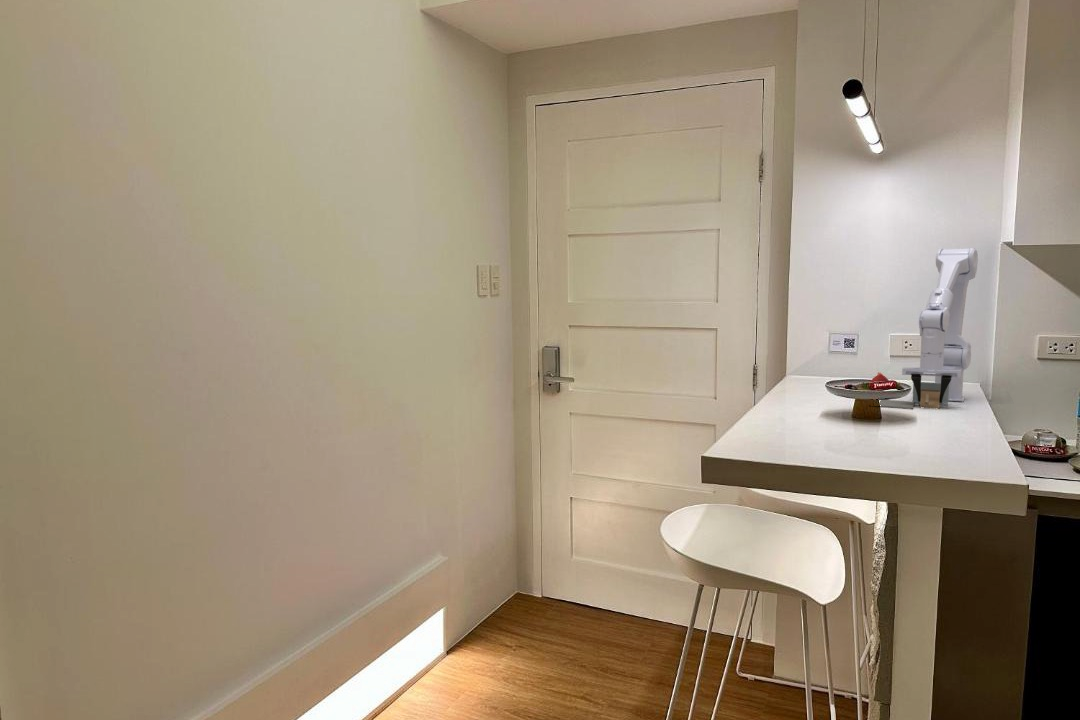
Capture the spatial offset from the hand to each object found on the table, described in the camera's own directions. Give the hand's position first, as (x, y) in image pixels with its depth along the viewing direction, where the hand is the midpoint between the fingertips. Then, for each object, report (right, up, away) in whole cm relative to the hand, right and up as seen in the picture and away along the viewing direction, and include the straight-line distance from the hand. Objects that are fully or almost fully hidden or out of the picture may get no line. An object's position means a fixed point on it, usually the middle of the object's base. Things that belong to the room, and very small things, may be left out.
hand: (929, 401), depth 210 cm
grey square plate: (-9, -1, +4) cm, 10 cm away
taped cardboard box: (0, -1, 0) cm, 1 cm away
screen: (+3, -1, +5) cm, 6 cm away
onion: (-8, 0, +14) cm, 16 cm away
